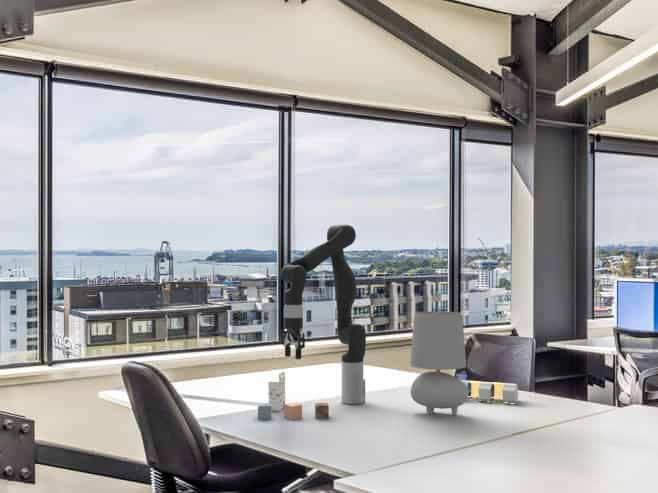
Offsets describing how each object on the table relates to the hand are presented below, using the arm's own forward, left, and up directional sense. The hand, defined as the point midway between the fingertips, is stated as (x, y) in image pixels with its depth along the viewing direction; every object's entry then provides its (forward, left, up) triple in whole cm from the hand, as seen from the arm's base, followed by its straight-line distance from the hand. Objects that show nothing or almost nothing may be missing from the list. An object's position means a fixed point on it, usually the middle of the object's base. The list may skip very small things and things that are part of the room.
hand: (292, 357), depth 283 cm
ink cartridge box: (0, -13, -22) cm, 26 cm away
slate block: (+12, -1, -22) cm, 25 cm away
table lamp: (-49, +30, -22) cm, 62 cm away
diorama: (-84, +20, -23) cm, 89 cm away
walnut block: (-7, +9, -22) cm, 25 cm away
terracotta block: (+2, +4, -22) cm, 23 cm away
